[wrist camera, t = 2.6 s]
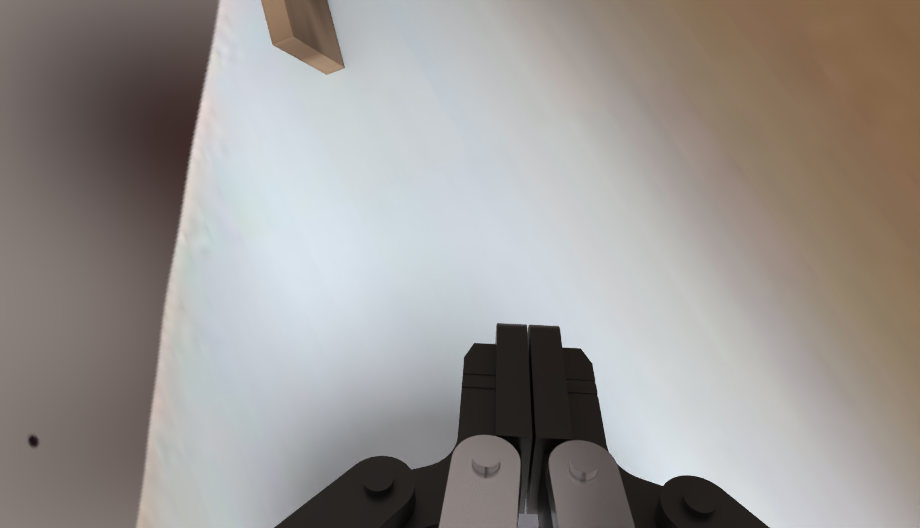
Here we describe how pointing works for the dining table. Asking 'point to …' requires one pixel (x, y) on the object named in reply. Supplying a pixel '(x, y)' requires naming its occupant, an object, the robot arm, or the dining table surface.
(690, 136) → the dining table surface
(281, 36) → the walnut lane
